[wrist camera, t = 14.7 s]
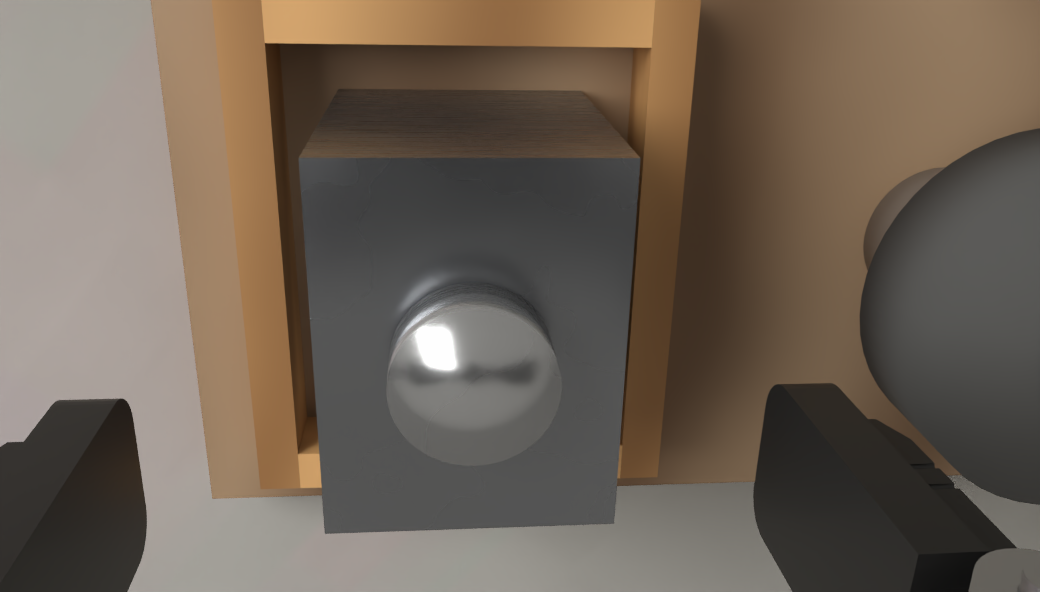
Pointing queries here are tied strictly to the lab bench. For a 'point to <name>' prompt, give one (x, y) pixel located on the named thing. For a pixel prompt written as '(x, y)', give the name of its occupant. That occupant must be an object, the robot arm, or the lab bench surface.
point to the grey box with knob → (468, 307)
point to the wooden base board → (661, 192)
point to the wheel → (966, 315)
